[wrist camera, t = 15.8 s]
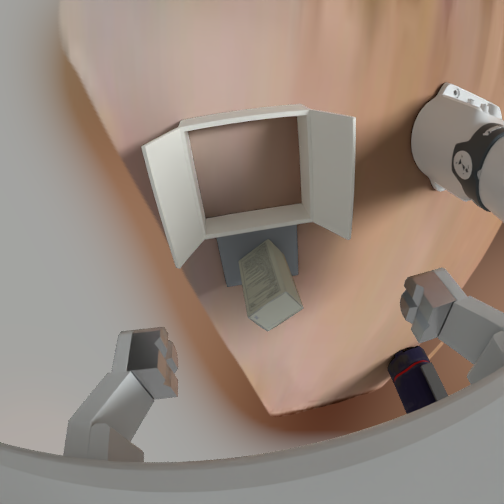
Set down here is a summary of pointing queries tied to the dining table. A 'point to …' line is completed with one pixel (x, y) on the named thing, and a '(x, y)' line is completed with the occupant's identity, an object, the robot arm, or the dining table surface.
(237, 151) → the dining table surface
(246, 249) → the mat
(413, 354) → the dark blue bottle
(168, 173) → the carton
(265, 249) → the skincare box
